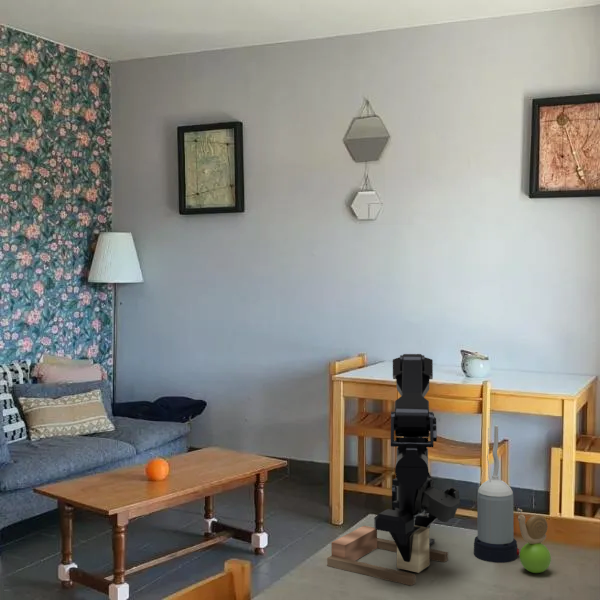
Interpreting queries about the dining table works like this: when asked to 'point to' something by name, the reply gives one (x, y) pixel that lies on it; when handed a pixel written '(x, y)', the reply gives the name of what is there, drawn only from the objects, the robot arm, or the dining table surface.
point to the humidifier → (495, 517)
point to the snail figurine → (534, 543)
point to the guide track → (364, 543)
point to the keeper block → (417, 552)
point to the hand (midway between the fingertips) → (413, 557)
